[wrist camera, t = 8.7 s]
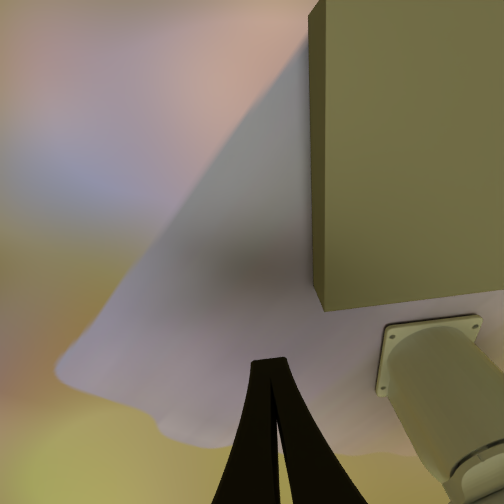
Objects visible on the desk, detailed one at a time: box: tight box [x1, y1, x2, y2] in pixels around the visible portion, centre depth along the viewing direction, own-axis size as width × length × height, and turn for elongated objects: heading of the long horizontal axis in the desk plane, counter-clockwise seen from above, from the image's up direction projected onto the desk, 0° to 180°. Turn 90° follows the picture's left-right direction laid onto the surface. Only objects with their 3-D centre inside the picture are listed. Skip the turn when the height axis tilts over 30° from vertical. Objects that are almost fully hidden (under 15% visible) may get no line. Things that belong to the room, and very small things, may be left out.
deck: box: [308, 0, 504, 312], centre depth 15 cm, size 16×14×3 cm
